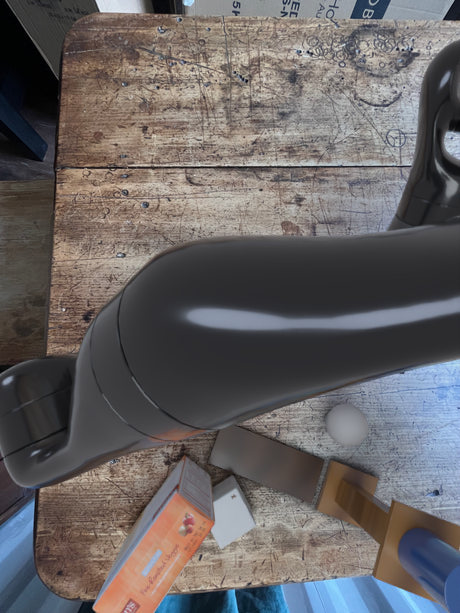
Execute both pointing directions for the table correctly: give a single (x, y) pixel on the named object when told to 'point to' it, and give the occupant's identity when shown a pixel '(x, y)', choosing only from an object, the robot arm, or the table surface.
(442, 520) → the stand
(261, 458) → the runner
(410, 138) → the table surface
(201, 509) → the cracker box
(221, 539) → the product box
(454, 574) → the blue plastic cylinder
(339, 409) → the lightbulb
